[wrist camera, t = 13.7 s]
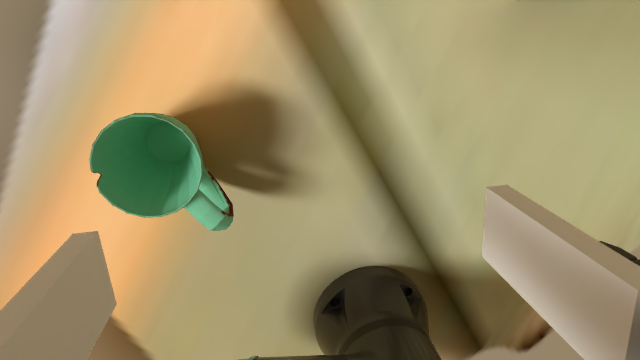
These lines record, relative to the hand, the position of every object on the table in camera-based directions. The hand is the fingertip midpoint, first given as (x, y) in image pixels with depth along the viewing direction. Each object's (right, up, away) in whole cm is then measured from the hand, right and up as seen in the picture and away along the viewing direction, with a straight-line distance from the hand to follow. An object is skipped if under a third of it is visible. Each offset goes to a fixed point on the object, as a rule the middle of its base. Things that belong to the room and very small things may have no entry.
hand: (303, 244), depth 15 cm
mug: (-15, +5, +35) cm, 39 cm away
